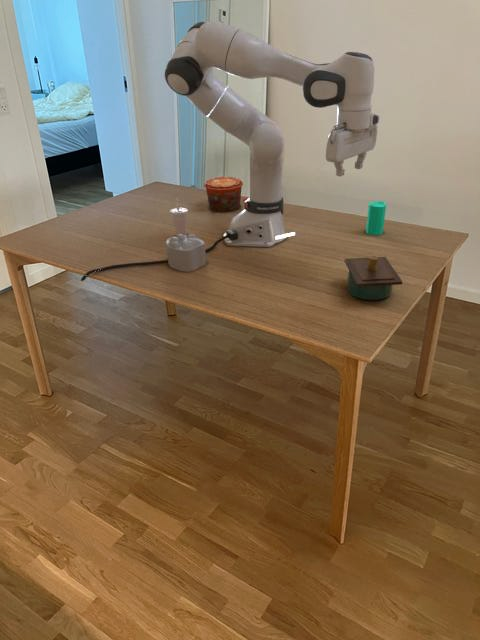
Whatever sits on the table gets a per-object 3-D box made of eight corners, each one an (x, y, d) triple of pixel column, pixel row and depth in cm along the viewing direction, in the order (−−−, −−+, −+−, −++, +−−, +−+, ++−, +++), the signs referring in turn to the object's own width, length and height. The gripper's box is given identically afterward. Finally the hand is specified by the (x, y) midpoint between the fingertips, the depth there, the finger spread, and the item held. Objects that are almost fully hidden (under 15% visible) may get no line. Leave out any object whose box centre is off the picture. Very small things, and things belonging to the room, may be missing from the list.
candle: (381, 229, 180) (385, 196, 174) (384, 235, 175) (388, 202, 169) (364, 229, 180) (368, 196, 174) (366, 235, 175) (370, 202, 169)
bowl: (352, 302, 135) (354, 283, 132) (343, 282, 145) (344, 264, 142) (396, 300, 135) (399, 281, 132) (384, 280, 145) (386, 262, 142)
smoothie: (169, 237, 180) (165, 200, 173) (178, 231, 185) (174, 194, 178) (185, 239, 178) (181, 201, 171) (193, 233, 183) (189, 196, 176)
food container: (213, 216, 198) (212, 189, 193) (200, 204, 211) (198, 179, 205) (249, 209, 204) (249, 183, 198) (234, 198, 216) (233, 174, 211)
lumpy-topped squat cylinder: (186, 273, 154) (184, 247, 150) (160, 262, 162) (156, 238, 157) (210, 262, 161) (208, 237, 156) (183, 252, 168) (181, 228, 164)
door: (356, 286, 130) (358, 271, 128) (344, 261, 144) (345, 247, 141) (402, 284, 130) (404, 269, 128) (385, 259, 144) (386, 245, 142)
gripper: (341, 127, 125) (338, 182, 132) (383, 115, 137) (377, 166, 144) (321, 125, 129) (318, 178, 136) (363, 113, 141) (358, 163, 148)
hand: (349, 172), depth 140 cm, fingers open, 8 cm apart
